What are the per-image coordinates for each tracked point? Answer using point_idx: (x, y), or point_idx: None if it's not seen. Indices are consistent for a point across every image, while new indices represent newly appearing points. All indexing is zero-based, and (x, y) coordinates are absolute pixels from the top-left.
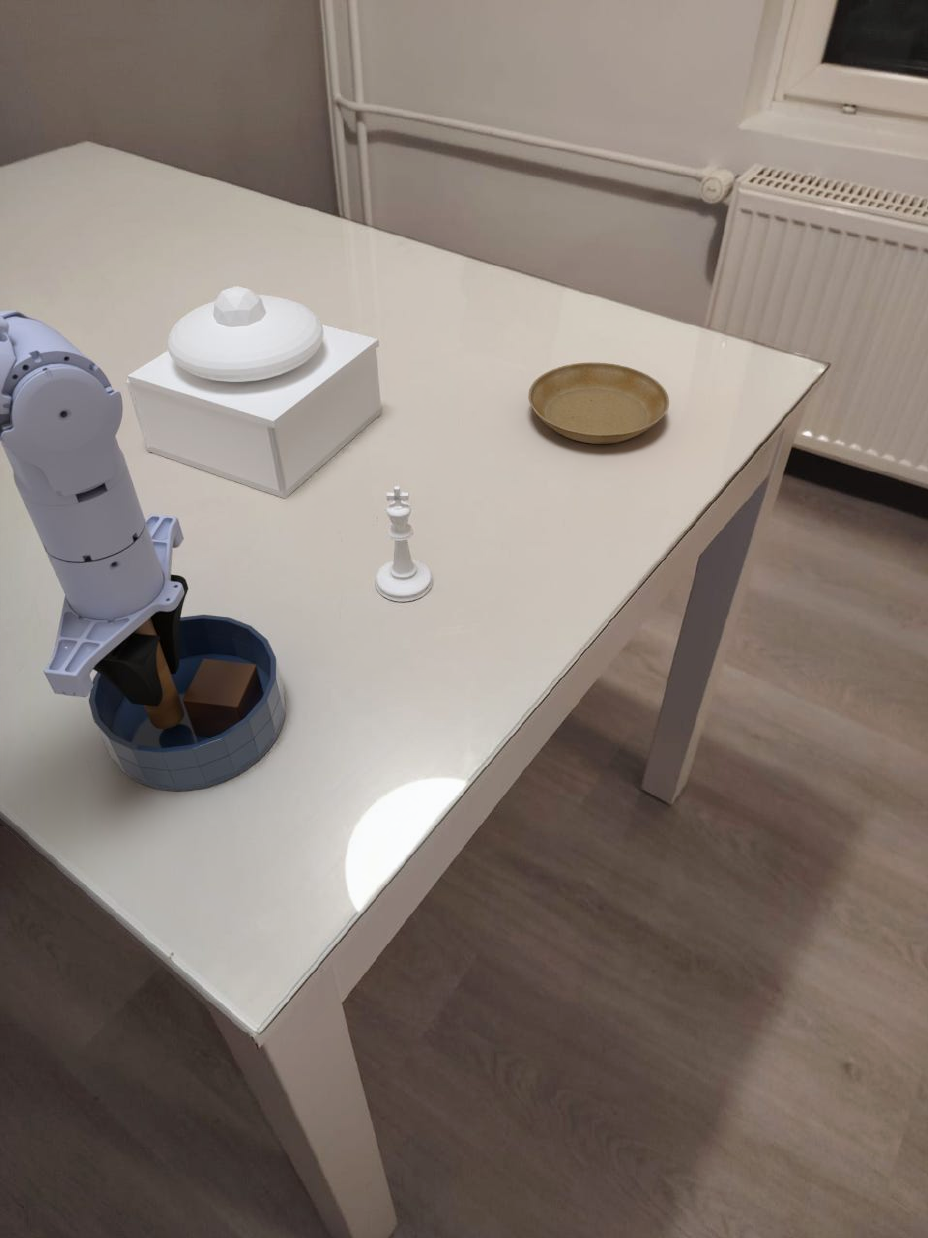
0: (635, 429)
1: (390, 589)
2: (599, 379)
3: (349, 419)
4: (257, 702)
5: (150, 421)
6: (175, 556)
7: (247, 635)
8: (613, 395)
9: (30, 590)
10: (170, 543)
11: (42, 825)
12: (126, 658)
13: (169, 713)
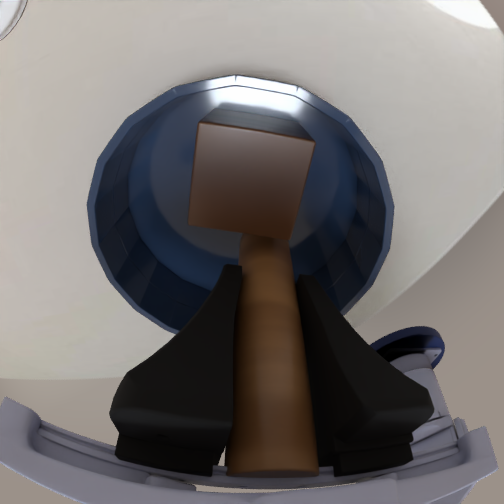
0: None
1: (11, 9)
2: None
3: None
4: (239, 115)
5: None
6: (20, 277)
7: (112, 162)
8: None
9: (102, 368)
10: (60, 490)
11: (366, 312)
12: (420, 425)
13: (286, 247)
